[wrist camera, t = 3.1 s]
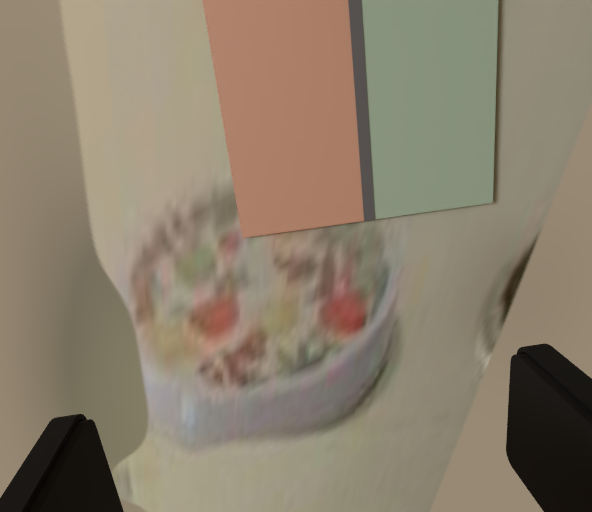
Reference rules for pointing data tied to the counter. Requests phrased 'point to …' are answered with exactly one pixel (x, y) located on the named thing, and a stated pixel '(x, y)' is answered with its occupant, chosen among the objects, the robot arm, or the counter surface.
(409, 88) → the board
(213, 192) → the counter surface
